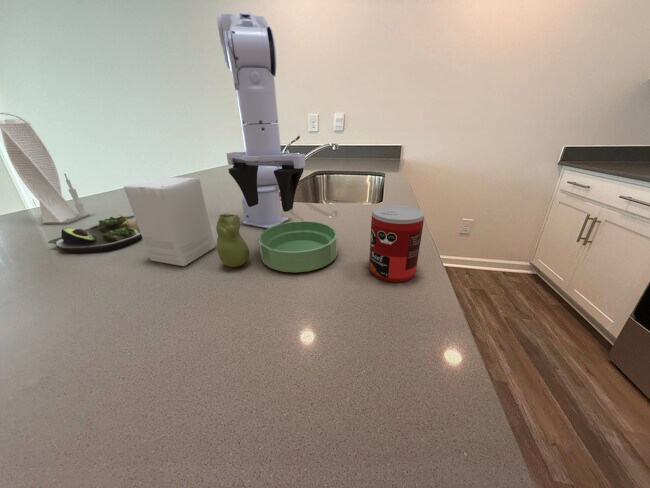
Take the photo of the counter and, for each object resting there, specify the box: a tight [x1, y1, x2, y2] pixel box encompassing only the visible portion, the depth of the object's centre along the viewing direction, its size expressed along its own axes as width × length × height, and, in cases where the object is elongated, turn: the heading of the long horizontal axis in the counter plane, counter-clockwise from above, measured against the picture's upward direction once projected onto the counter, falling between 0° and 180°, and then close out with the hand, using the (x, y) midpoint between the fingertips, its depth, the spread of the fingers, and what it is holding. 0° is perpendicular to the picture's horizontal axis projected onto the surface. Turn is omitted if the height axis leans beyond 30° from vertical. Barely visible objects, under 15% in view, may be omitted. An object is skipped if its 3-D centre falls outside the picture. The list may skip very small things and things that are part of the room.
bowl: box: [258, 220, 339, 273], centre depth 51 cm, size 15×15×4 cm
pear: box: [215, 213, 250, 268], centre depth 46 cm, size 6×5×10 cm
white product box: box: [123, 176, 216, 267], centre depth 50 cm, size 9×9×15 cm
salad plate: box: [47, 214, 142, 254], centre depth 62 cm, size 19×18×5 cm
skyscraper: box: [0, 111, 90, 225], centre depth 68 cm, size 8×8×28 cm
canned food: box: [368, 204, 425, 283], centre depth 43 cm, size 8×8×11 cm
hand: (270, 207), depth 46 cm, fingers open, 7 cm apart
